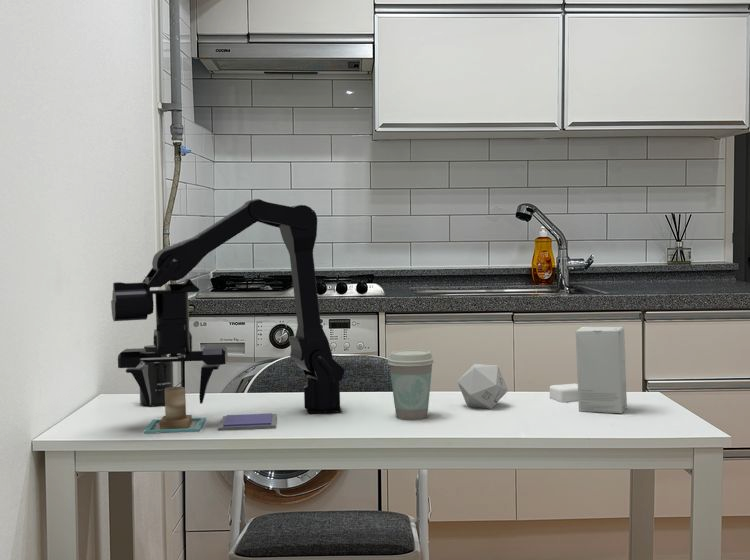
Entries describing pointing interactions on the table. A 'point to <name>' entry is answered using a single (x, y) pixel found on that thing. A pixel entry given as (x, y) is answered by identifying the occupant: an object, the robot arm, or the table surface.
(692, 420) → the table surface
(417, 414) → the coffee cup
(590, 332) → the skincare box
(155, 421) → the teal flat square frame
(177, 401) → the stamp
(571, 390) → the soap
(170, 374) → the supplement bottle
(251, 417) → the ink pad
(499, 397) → the die
